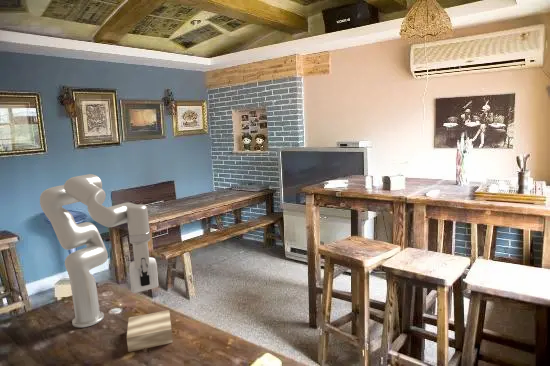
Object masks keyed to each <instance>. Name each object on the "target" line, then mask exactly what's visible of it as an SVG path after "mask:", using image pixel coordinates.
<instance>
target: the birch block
mask: <svg viewBox="0 0 550 366" xmlns="http://www.w3.org/2000/svg"><path fill="white" fill-rule="evenodd" d="M127 322H128V323H127V331H126V344H127V352H128V353H130V352H135V351H140V350H145V349H149V348H153V347H154V348H155V347H158V346H162V345H168V344H172V343H173V344H174V342H173V331H172V323H171V322H172V321H171V313H170V309H167V310H162V311H158V312H157V311H156V312H153V313H147V314H146V313H145V314H140V315H136V316H130V317H128V320H127ZM144 348H145V349H144Z"/></svg>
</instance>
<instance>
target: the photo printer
mask: <svg viewBox="0 0 550 366" xmlns="http://www.w3.org/2000/svg"><path fill="white" fill-rule="evenodd" d="M141 262H142V261H141ZM141 268H142V266H141ZM128 269H129V271H128V272H129V281H130V291H131V293H132V294H137V293H141V292H145V291H148V290H151V289H155V288H158V287H159V278H158V277H159V276H158V265H157V260H156V258H154V257H151V256H149V267H148V274H149V280H150V285H146V286H141V281H140V276H141V274H140V269H138V270H137V269H136V266H135V261H134V260H132V261H131V262H130V263H129V267H128ZM142 271H143V269H142Z"/></svg>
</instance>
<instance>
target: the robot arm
mask: <svg viewBox="0 0 550 366" xmlns="http://www.w3.org/2000/svg"><path fill="white" fill-rule="evenodd" d="M106 195H107V194H106V192H105V190H104V189H103V181H102V179H101V178H100V177H99V176H98V175H96V174H92V173H88V174H83V175H76V176H72V177H70V178H68V179H67V180H66V181H65V183H64V184H61V185H56V186H51V187H49V188H47V189H45V190H44V191H42V192H41V193H40V196H39V205H40V208H41V210H42V211H43V213H44V215H45V216H46V218H47V219H48V220H49V222H50V224H51V226H52V229H53V231H54V232H55V235H56V237H57V240H58V242H59V244H60V246H61V247H62V248H63V249H64V250H66V251H69V250H70V251H71V250H73V249H76V248H80V247H82V246H86V247H84V248H80V249H77V250H75V251H73V252H71V253H69V254H68V255H67V256H66V257H65V259H64V266H65V269H66V272H67V275H68V278H69V282H70V288H71V289H70V290H71V296H72V302H73V309H74V310H73V311H74V316H75V317H74V318H72V320H71V322H72V323H71V324H72V326H73V327H74V328H87V327H90V326H94V325H96V324H98V323H100V322H102V320H103V319H104V318H105V314H104V312H103V311H100V304H99V296H98V291H97V290H98V289H97V281H96V278H95V277H94V275H93V274H92V273H91V272H90V271H91V270H92V269H94V268H97V267H100V266H101V265H103V264H105V263H106V262H108V261H107V260H108V258H109V253H108V251H107V247H106V245H105V243H104V241H103V239H102V236H101V233H100V231H99V230H98V228H97V227H96V225H95V224H94V223H92V222H90V221H87V222H86V221H85V222H80V223H77V221H75V217H74V216H73V214H72V213H71V212H70V211H69V210H68V209H66V208H64V207H63V206H67V205H71V204H77V203H82V204H84V205H85V206H87V212H88V214H89V216H90V217H91V219H92V220H93V221H95V222H96V223H97V224H99V225H101V226H104V227H106V228H113V227H114V228H115V227H117V226H120V225H123V224H127V230H128V240H129V244H132V252H133V261H135V266H136V269H137V270H138V269H140V274H141V276H140V281H141V286H146V285H150V280H149V274H148V267H149V257H150V252H149V242H150V241H151V231H150V230H151V229H150V221H149V211H148V207H147V205H145V204H142V203H141V204H136V203H133V202H128V201H127V202H123V203H119V204H115V205H112V206H105V205H103V204H104V202H105V200H106ZM141 261H142V262H141ZM141 266H142V268H141ZM142 269H143V271H142Z"/></svg>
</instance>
